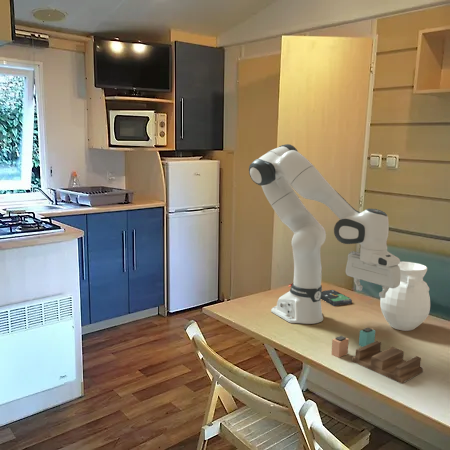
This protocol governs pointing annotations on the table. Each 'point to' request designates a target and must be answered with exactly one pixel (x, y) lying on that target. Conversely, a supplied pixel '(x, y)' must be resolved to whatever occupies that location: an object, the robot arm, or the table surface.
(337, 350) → the orange rectangular block
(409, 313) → the pitcher
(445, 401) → the table surface
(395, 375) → the brown slotted tray
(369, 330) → the teal box with panel
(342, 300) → the disk drive
